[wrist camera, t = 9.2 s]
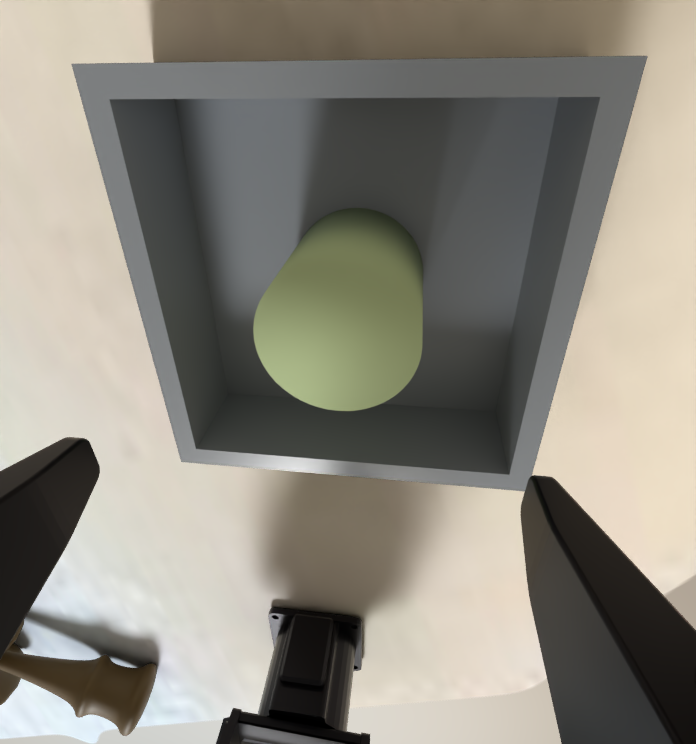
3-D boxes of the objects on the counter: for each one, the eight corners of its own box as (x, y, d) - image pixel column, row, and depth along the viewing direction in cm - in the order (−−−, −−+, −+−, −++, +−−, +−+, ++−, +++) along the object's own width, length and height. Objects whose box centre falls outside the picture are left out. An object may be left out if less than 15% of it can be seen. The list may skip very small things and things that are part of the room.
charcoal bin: (509, 418, 22) (526, 491, 18) (219, 398, 24) (181, 461, 20) (588, 56, 14) (647, 55, 11) (152, 63, 16) (71, 63, 12)
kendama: (153, 685, 45) (-68, 622, 42) (173, 637, 40) (-77, 561, 37) (122, 763, 40) (-131, 697, 37) (140, 720, 35) (-152, 639, 32)
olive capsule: (418, 334, 20) (416, 416, 15) (299, 327, 20) (262, 405, 16) (428, 209, 17) (429, 264, 12) (290, 206, 17) (242, 258, 13)
